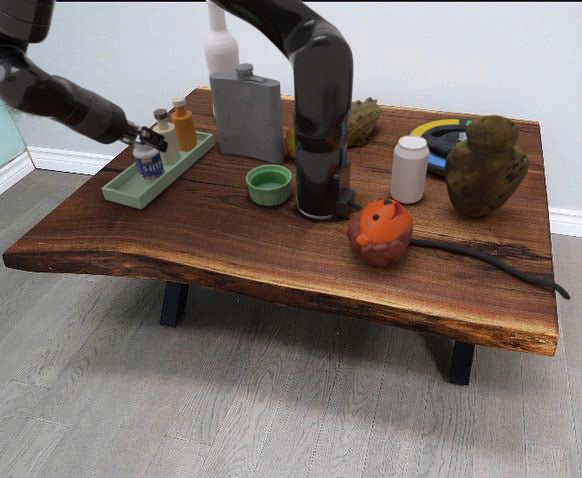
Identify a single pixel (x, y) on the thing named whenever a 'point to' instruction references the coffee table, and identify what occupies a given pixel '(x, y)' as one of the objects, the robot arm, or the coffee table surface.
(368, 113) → the seashell
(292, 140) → the fruit
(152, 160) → the pill bottle
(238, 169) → the coffee table surface
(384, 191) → the coffee table surface
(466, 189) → the sculpture
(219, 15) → the bottle
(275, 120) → the hip flask
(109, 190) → the tray
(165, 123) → the cream bottle
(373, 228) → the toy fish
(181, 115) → the amber bottle
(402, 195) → the beverage can
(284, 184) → the ramekin
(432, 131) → the electronic game
